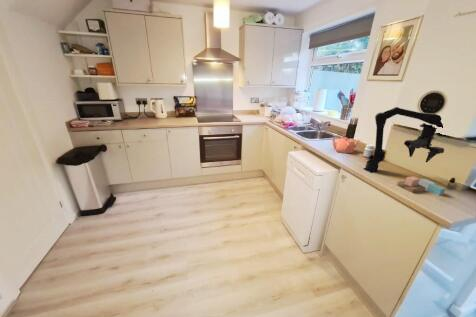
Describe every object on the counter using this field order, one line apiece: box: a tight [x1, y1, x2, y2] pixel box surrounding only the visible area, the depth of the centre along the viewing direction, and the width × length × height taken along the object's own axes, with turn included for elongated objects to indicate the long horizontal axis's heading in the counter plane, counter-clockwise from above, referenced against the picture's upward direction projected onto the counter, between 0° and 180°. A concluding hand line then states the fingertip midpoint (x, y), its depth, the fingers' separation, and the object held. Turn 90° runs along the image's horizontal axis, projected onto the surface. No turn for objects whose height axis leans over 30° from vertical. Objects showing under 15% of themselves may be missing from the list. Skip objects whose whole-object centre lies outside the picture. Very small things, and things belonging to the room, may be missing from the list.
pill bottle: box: [362, 143, 375, 161], centre depth 161 cm, size 6×6×11 cm
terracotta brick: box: [404, 175, 421, 186], centre depth 116 cm, size 6×4×4 cm, turn 108°
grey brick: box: [419, 178, 437, 190], centre depth 119 cm, size 6×4×4 cm, turn 16°
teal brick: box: [426, 183, 447, 196], centre depth 113 cm, size 6×4×4 cm, turn 15°
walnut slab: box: [396, 180, 426, 194], centre depth 117 cm, size 9×9×3 cm
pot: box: [330, 135, 361, 154], centre depth 178 cm, size 18×17×12 cm
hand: (418, 159), depth 125 cm, fingers open, 9 cm apart
